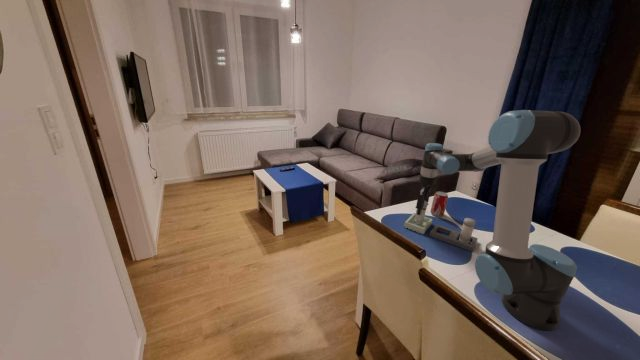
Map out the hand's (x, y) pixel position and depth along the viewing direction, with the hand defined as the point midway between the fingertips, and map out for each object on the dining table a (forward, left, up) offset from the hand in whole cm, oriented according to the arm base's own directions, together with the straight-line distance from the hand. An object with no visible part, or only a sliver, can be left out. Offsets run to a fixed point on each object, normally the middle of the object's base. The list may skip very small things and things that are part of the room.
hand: (419, 217), depth 133 cm
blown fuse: (0, 0, -3) cm, 3 cm away
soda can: (+20, -4, -5) cm, 21 cm away
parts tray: (0, 0, -5) cm, 5 cm away
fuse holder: (-1, -17, -5) cm, 18 cm away
